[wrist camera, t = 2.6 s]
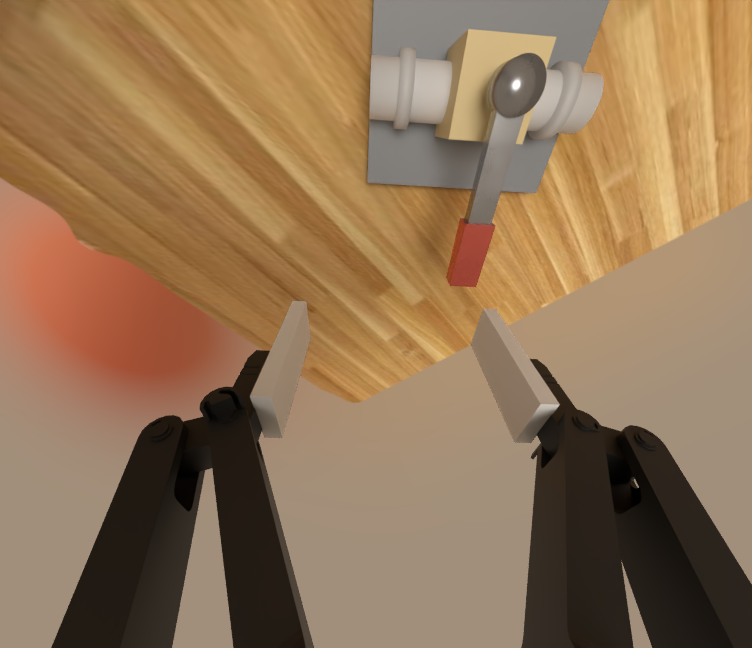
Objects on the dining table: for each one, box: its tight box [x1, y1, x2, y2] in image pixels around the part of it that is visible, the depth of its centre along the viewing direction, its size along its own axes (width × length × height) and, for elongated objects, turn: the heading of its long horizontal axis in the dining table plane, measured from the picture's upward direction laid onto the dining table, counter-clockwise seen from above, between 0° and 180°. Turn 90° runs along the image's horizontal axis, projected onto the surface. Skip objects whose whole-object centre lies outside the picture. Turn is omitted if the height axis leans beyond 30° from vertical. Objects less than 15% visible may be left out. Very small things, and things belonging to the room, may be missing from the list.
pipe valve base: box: [367, 0, 609, 193], centre depth 24 cm, size 20×16×11 cm
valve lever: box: [446, 53, 547, 287], centre depth 23 cm, size 17×3×2 cm, turn 177°
